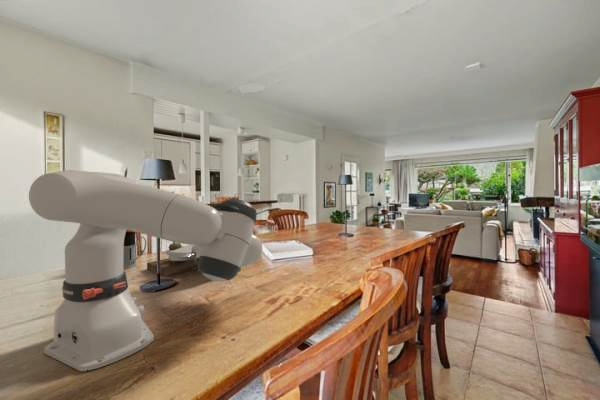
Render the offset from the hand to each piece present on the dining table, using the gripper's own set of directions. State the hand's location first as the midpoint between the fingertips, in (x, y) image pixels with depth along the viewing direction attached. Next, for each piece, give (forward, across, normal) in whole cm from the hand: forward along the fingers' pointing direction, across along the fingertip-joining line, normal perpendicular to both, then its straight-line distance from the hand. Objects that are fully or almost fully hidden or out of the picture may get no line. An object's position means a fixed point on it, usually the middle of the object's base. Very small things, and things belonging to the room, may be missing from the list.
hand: (172, 250), depth 118 cm
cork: (-1, +1, -8) cm, 8 cm away
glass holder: (+20, -1, -8) cm, 21 cm away
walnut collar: (-1, 0, -8) cm, 8 cm away
